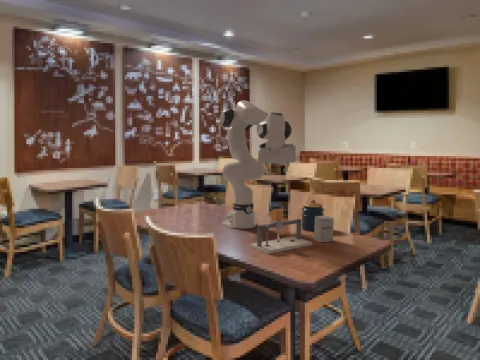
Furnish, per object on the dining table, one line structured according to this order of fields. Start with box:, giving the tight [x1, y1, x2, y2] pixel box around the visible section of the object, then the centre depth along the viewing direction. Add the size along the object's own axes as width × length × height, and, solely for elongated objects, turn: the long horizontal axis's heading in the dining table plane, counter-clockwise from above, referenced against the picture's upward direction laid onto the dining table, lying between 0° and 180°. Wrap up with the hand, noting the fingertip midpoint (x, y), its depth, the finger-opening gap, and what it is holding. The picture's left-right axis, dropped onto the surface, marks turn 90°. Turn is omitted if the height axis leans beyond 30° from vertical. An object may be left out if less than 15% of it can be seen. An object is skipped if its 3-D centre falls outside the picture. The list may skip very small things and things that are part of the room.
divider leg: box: [270, 209, 283, 242], centre depth 196 cm, size 4×4×16 cm
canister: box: [301, 198, 325, 232], centre depth 233 cm, size 13×13×18 cm
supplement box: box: [313, 215, 335, 243], centre depth 207 cm, size 7×7×13 cm
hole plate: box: [249, 218, 313, 255], centre depth 197 cm, size 14×28×12 cm, turn 123°
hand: (277, 172), depth 200 cm, fingers open, 8 cm apart
